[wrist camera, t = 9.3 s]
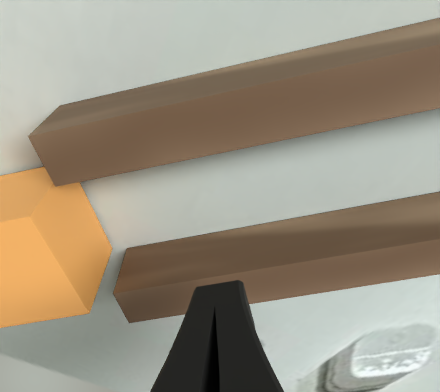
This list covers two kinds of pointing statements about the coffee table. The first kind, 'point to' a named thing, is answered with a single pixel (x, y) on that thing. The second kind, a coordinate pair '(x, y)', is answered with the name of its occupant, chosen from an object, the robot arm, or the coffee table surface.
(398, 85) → the walnut chute
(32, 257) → the block
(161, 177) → the coffee table surface
